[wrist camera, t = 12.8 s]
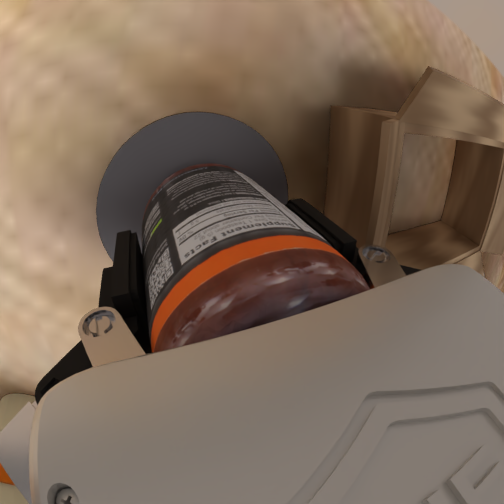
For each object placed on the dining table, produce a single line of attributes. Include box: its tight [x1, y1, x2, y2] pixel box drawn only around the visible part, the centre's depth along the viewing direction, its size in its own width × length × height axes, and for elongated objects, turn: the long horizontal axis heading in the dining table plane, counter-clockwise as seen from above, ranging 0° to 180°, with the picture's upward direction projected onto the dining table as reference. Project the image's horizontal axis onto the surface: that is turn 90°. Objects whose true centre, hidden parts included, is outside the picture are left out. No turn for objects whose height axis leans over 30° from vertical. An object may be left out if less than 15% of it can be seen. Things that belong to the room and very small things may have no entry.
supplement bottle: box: [141, 163, 370, 353], centre depth 9 cm, size 6×6×11 cm
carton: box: [324, 66, 504, 277], centre depth 16 cm, size 20×15×7 cm
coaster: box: [96, 112, 288, 262], centre depth 14 cm, size 10×10×1 cm
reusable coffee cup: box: [0, 393, 35, 504], centre depth 12 cm, size 13×12×15 cm
